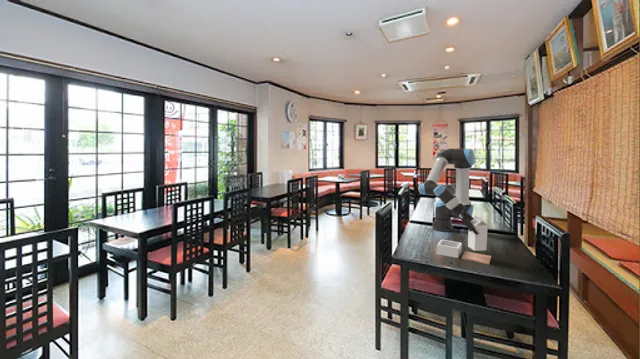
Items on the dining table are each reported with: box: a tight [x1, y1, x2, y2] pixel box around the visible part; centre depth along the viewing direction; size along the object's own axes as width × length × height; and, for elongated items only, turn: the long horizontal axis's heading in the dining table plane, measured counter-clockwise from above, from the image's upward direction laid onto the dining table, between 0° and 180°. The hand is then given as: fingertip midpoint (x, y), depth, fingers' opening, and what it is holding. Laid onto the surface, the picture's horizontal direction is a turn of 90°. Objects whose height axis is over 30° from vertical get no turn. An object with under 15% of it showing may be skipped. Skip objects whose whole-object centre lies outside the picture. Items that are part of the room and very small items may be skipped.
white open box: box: [436, 239, 463, 259], centre depth 176 cm, size 12×12×6 cm
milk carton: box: [467, 215, 489, 252], centre depth 166 cm, size 7×7×19 cm
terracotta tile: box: [461, 251, 492, 265], centre depth 168 cm, size 12×14×1 cm
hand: (483, 236), depth 164 cm, fingers closed on milk carton, 10 cm apart
